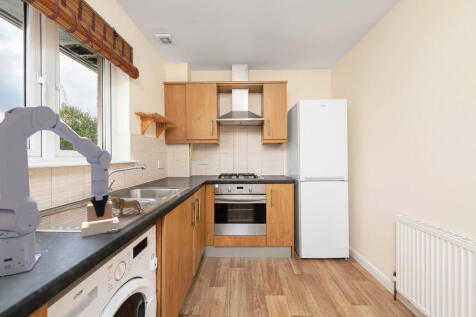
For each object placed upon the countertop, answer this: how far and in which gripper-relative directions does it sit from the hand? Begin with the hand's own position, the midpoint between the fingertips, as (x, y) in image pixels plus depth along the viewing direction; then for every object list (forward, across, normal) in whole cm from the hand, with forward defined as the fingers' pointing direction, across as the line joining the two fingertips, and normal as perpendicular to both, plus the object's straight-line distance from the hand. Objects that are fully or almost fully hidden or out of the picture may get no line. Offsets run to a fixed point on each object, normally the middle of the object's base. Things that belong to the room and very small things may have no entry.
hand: (100, 215), depth 83 cm
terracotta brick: (+2, 0, 0) cm, 2 cm away
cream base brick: (+6, 0, 0) cm, 6 cm away
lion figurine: (+6, +20, -10) cm, 23 cm away
